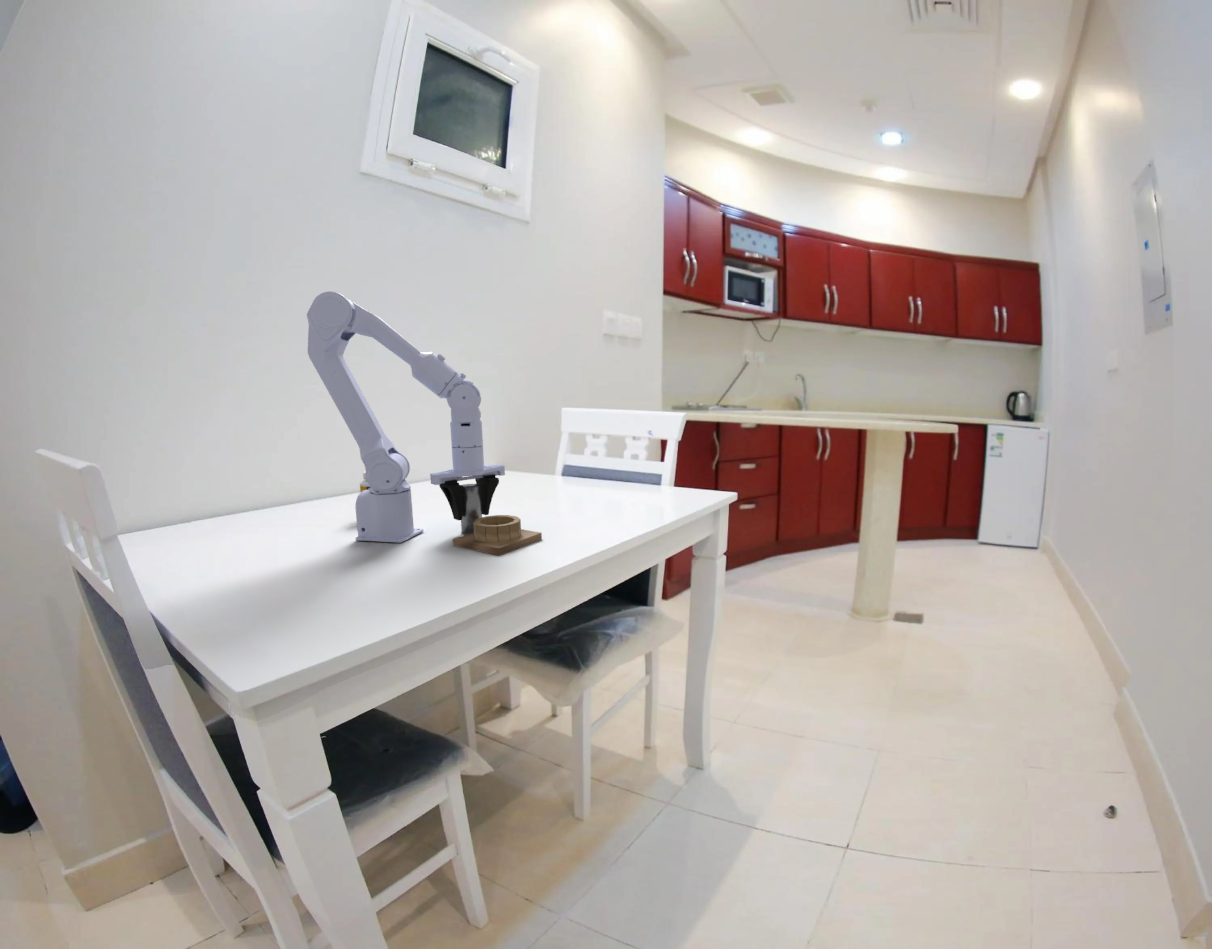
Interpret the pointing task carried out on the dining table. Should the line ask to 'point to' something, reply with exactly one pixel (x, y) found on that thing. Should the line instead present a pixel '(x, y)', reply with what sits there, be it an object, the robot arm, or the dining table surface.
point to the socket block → (497, 535)
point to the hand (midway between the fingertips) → (471, 516)
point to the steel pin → (470, 507)
